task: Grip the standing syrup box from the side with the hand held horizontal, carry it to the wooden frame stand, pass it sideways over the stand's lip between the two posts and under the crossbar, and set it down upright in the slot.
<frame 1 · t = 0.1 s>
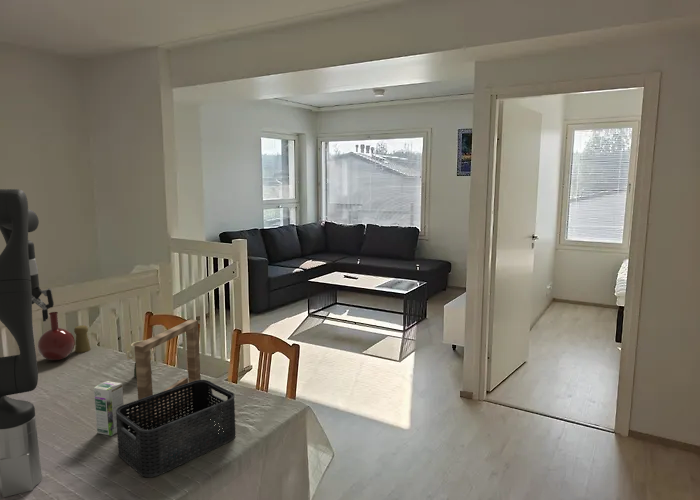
hand: (29, 322, 156), 29 cm above the table, tool pointing down, fingers open, 8 cm apart
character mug: (143, 376, 186), on the table
syrup box: (111, 430, 147), on the table
round-bottom flask: (58, 359, 202), on the table
cork: (82, 350, 212), on the table
wooden frame stand: (172, 402, 164), on the table
storage bin: (179, 446, 139), on the table
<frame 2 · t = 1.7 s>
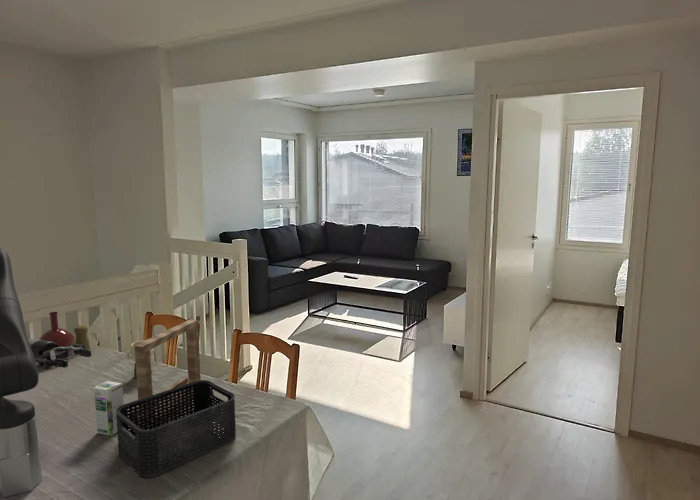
hand: (78, 358, 147), 21 cm above the table, tool horizontal, fingers open, 8 cm apart
nothing on the table moved.
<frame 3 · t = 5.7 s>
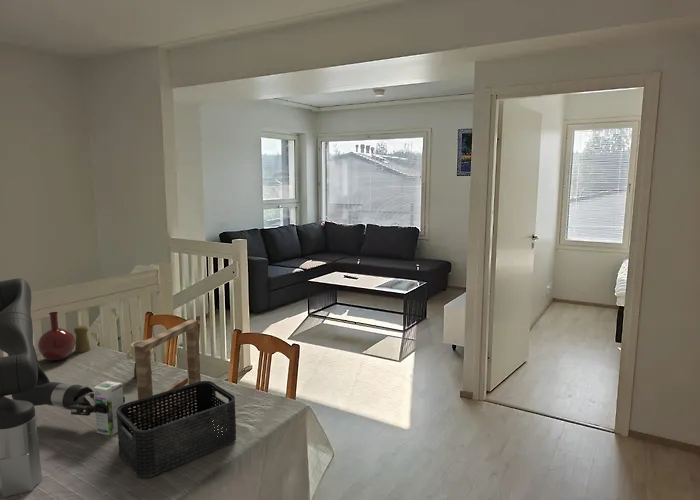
hand: (115, 404, 145), 9 cm above the table, tool horizontal, fingers closed on syrup box, 6 cm apart
syrup box: (111, 430, 147), on the table, touching gripper
when the fingers open (10 cm above the table, at t = 14.5 s): syrup box stays where it is, resting on wooden frame stand.
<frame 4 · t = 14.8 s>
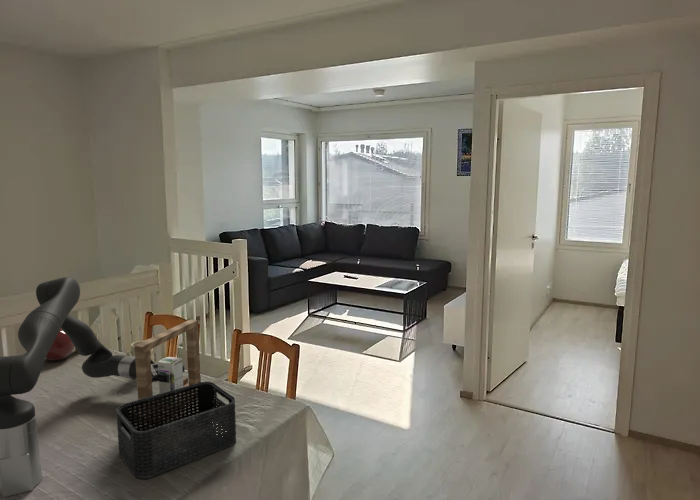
hand: (176, 374, 162), 10 cm above the table, tool horizontal, fingers open, 8 cm apart
syrup box: (172, 400, 164), point 1 cm above the table, touching wooden frame stand
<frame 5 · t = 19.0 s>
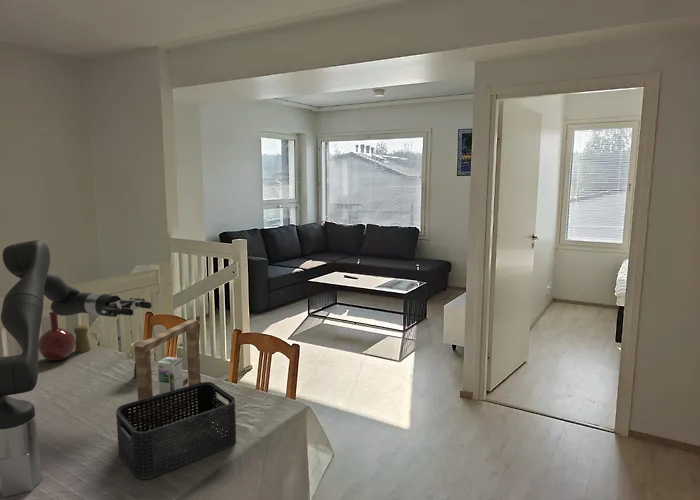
hand: (141, 308, 162), 32 cm above the table, tool horizontal, fingers open, 8 cm apart
at the end: syrup box 0.2 cm from the wooden frame stand (horizontally); syrup box tilted 0°; the gripper is holding nothing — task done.
